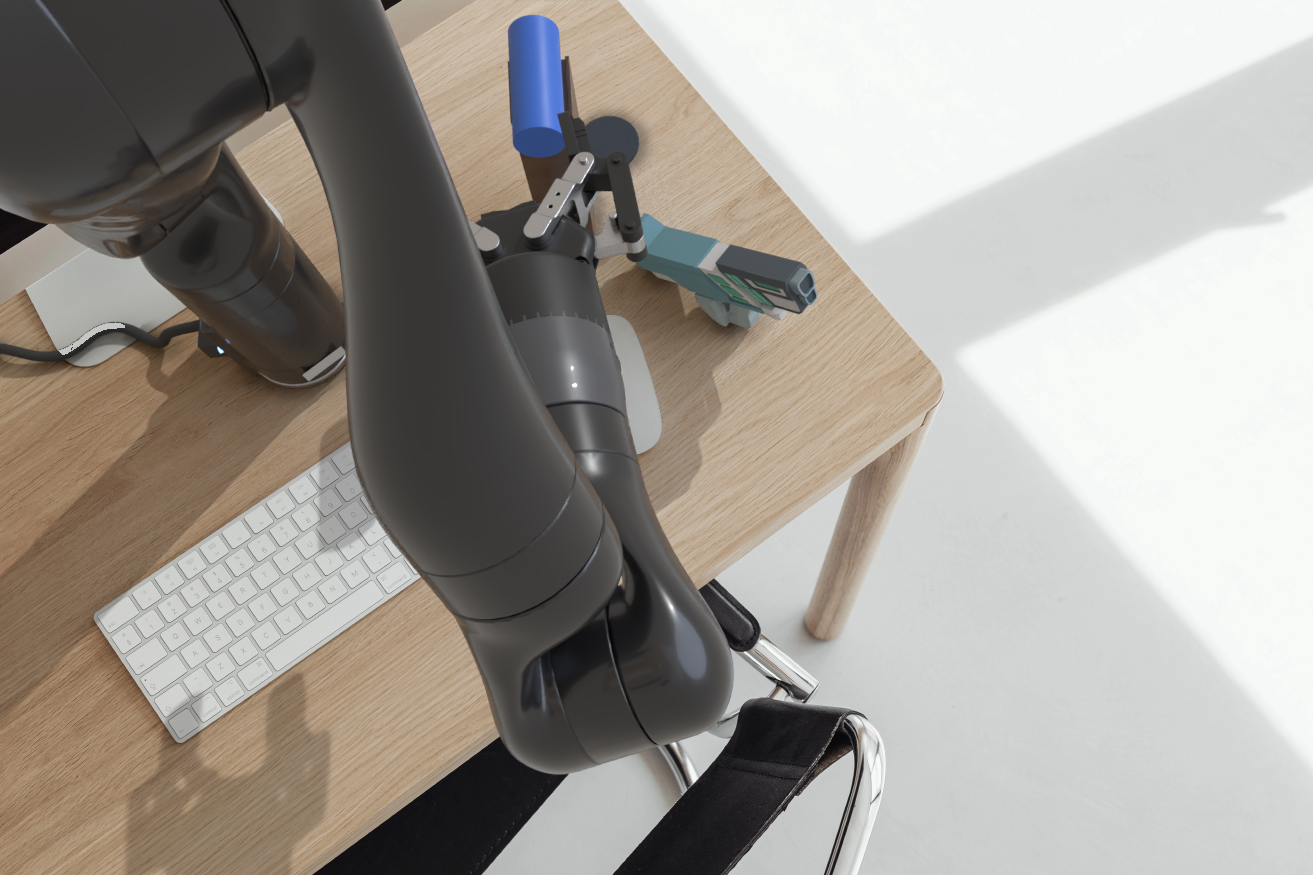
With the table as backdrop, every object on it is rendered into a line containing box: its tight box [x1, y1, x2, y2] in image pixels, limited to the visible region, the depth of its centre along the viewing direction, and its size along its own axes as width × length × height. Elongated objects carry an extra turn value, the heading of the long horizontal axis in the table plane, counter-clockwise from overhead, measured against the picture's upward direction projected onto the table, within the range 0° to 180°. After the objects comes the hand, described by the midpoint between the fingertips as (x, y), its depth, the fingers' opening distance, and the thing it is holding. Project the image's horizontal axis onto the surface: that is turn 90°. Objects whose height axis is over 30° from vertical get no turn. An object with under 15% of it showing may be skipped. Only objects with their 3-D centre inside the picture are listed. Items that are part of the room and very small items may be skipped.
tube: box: [507, 14, 565, 158], centre depth 69 cm, size 9×4×4 cm, turn 5°
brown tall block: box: [507, 55, 597, 236], centre depth 81 cm, size 4×5×20 cm
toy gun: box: [635, 212, 818, 329], centre depth 82 cm, size 4×19×10 cm
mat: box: [585, 115, 640, 164], centre depth 93 cm, size 6×6×1 cm
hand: (495, 141), depth 59 cm, fingers open, 8 cm apart
